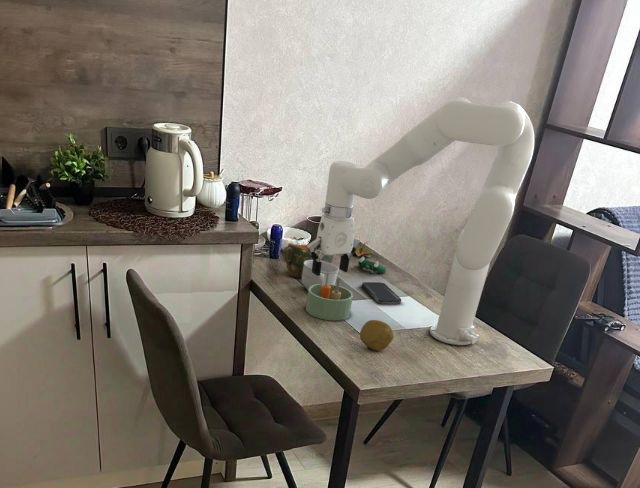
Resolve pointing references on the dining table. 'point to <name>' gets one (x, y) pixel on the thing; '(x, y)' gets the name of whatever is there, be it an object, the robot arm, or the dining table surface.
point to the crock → (329, 303)
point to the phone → (381, 293)
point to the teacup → (313, 279)
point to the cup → (299, 258)
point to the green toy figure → (371, 266)
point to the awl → (336, 292)
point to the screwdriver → (325, 288)
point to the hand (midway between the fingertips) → (329, 272)
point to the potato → (376, 334)
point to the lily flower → (363, 250)
